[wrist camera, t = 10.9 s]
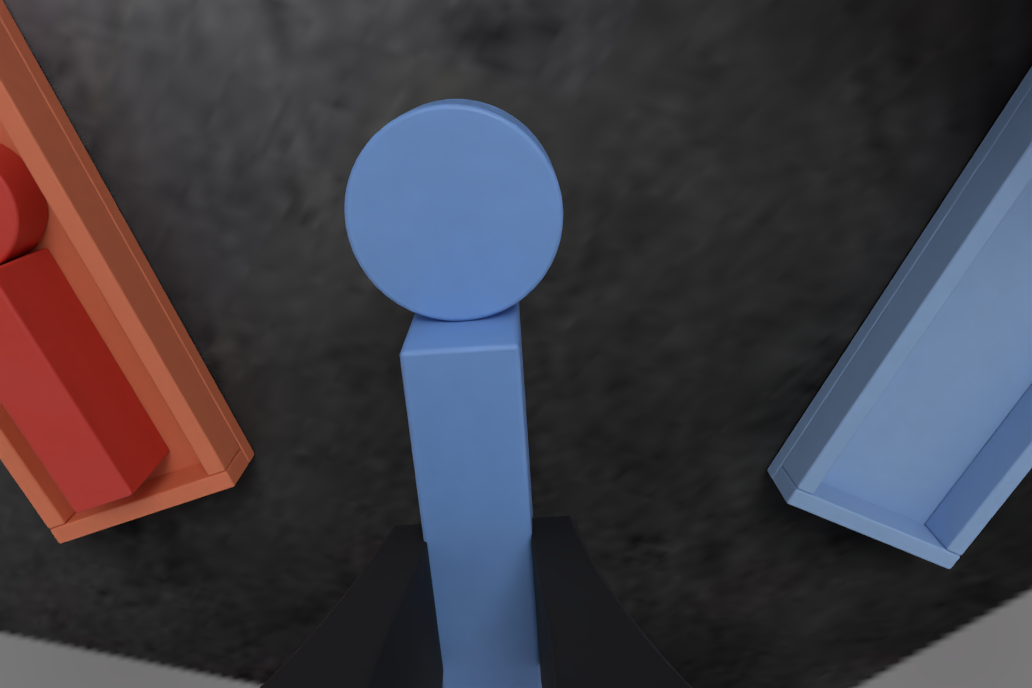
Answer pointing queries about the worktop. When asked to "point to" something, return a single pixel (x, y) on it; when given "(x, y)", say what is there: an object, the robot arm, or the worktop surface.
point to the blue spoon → (465, 357)
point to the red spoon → (63, 364)
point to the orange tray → (110, 316)
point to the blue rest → (935, 372)
